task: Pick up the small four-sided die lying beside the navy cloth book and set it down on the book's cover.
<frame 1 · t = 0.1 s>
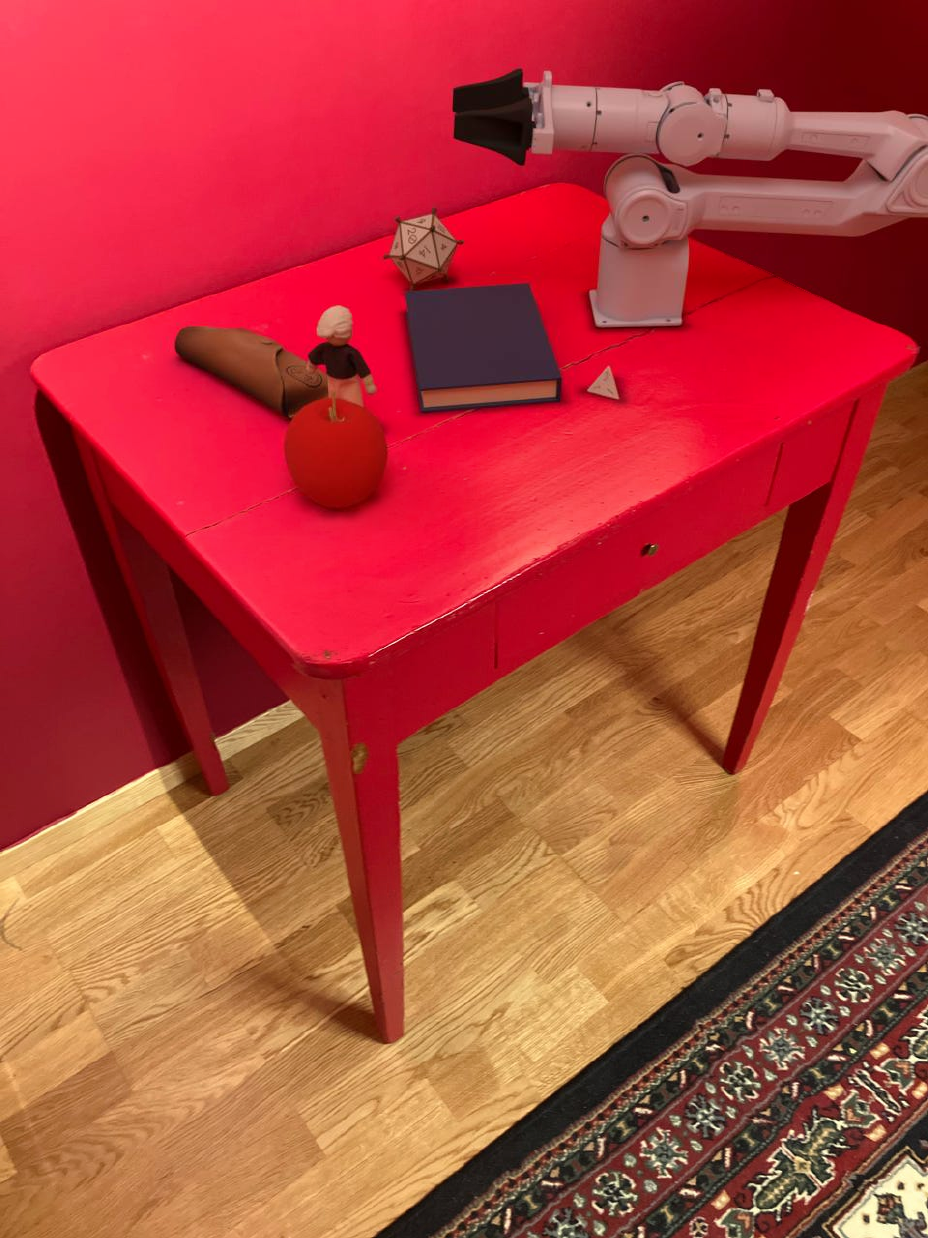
hand: (453, 112, 100), 22 cm above the table, tool horizontal, fingers open, 7 cm apart
grandmother figurine: (348, 429, 100), on the table
sunglasses case: (259, 377, 107), on the table
game die: (424, 283, 121), on the table
tetrahedral die: (607, 390, 104), on the table
fruit: (341, 492, 93), on the table
book: (478, 355, 109), on the table
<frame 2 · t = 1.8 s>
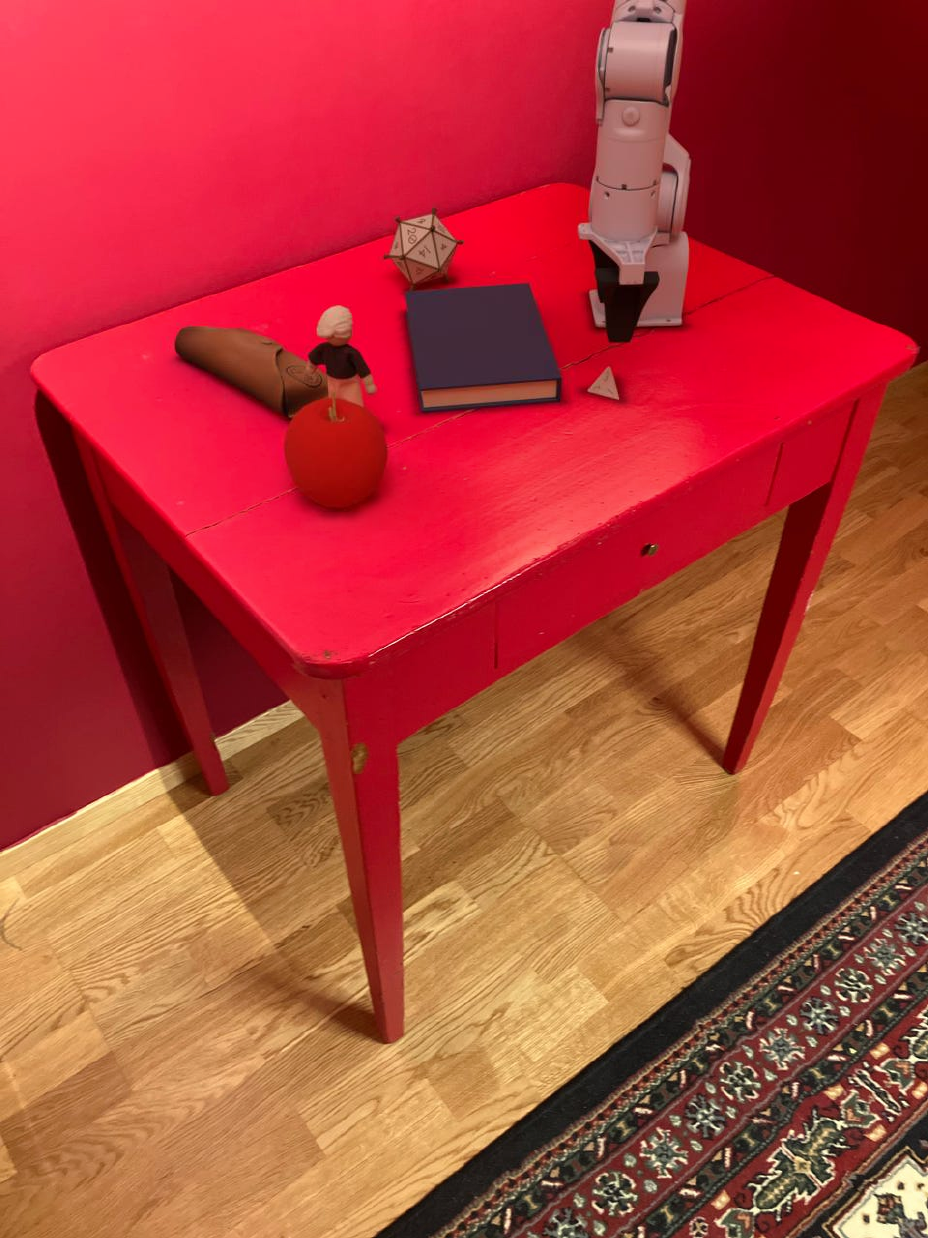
hand: (614, 320, 98), 8 cm above the table, tool pointing down, fingers open, 7 cm apart
nothing on the table moved.
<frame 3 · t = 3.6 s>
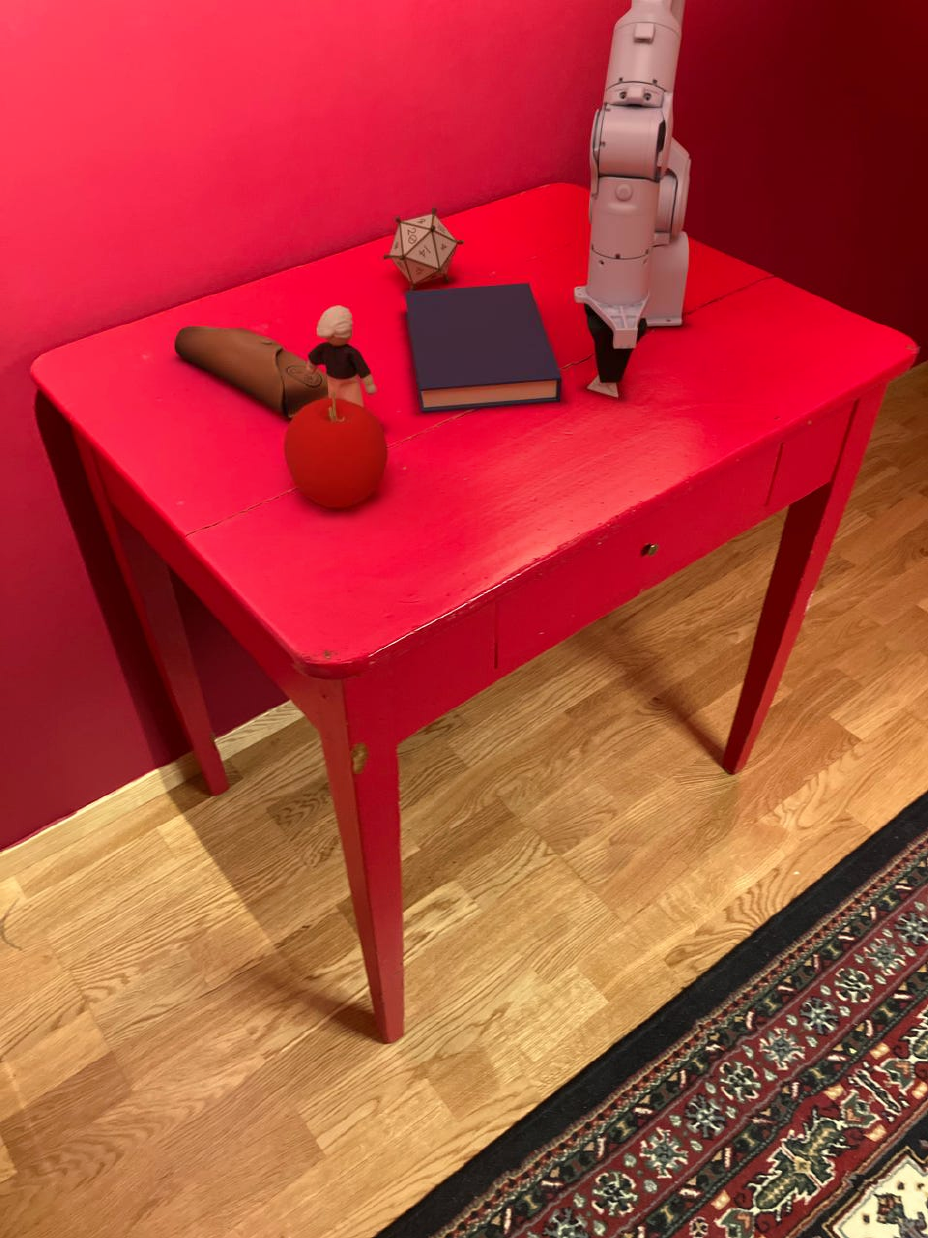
hand: (609, 376, 103), 1 cm above the table, tool pointing down, fingers closed on tetrahedral die
tetrahedral die: (608, 388, 104), on the table, touching gripper
everything else where it was.
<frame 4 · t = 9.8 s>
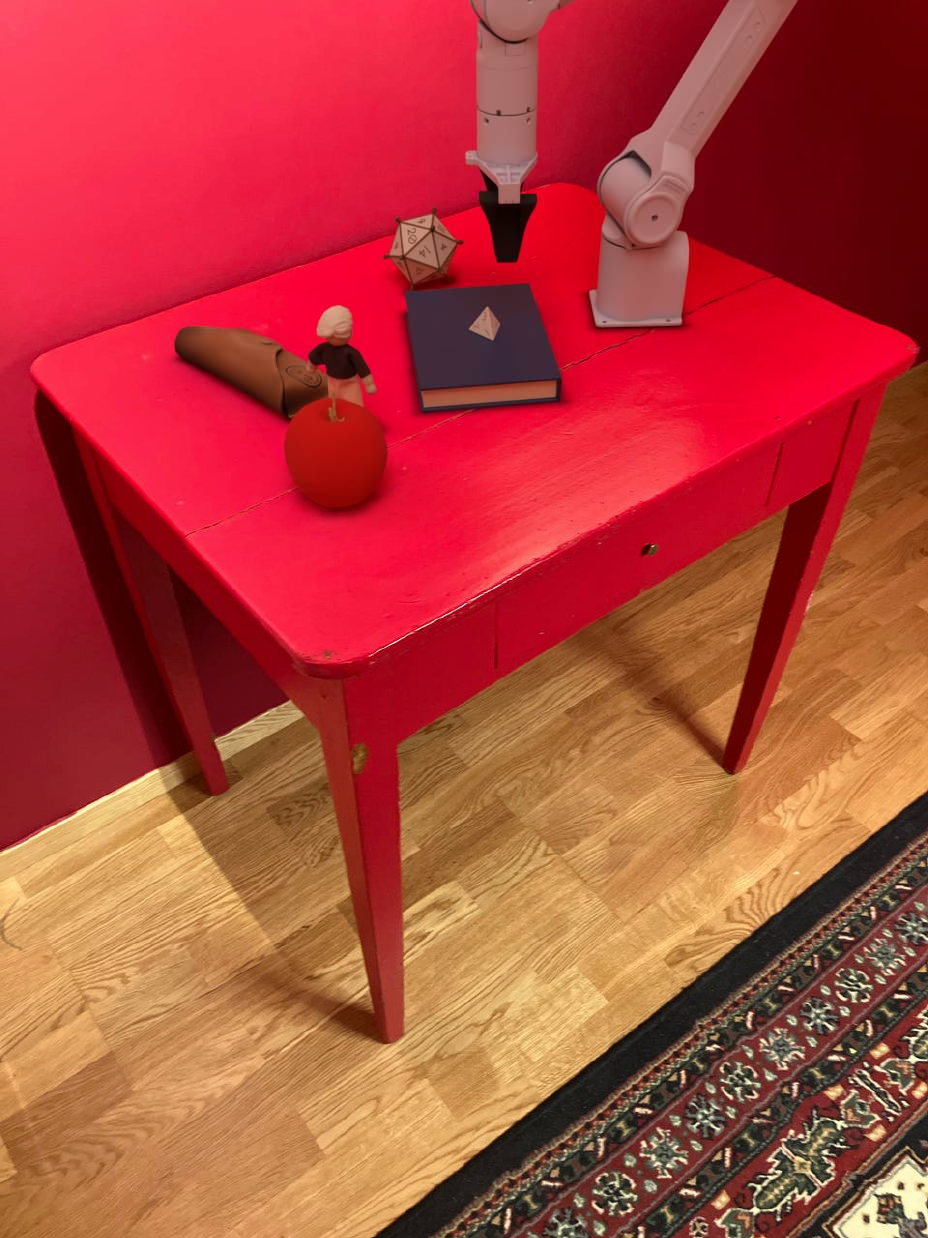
hand: (505, 244, 106), 9 cm above the table, tool pointing down, fingers open, 7 cm apart
tetrahedral die: (490, 331, 107), point 3 cm above the table, touching book
everything else where it was.
at the end: tetrahedral die inside the target area on the book (1.2 cm from its centre), point 2.6 cm above the book's base; the gripper is holding nothing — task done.
